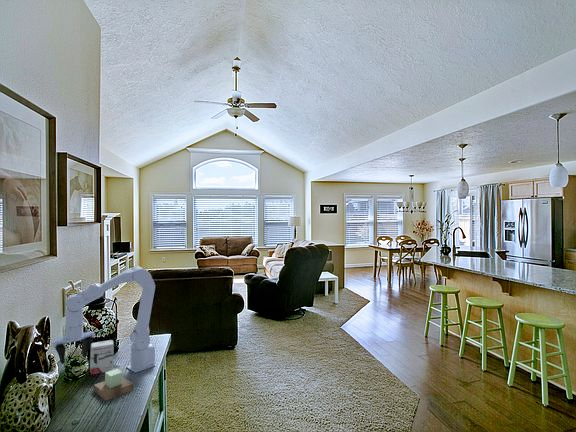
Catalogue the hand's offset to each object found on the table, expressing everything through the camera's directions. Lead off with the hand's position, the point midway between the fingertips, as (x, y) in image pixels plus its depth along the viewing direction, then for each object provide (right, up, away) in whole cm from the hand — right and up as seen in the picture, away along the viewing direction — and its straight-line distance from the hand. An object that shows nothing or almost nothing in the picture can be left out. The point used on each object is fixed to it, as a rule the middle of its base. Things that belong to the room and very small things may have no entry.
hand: (73, 359), depth 132 cm
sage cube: (+18, -8, -4) cm, 20 cm away
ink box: (+5, -10, +11) cm, 16 cm away
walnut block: (+18, -11, -4) cm, 21 cm away
